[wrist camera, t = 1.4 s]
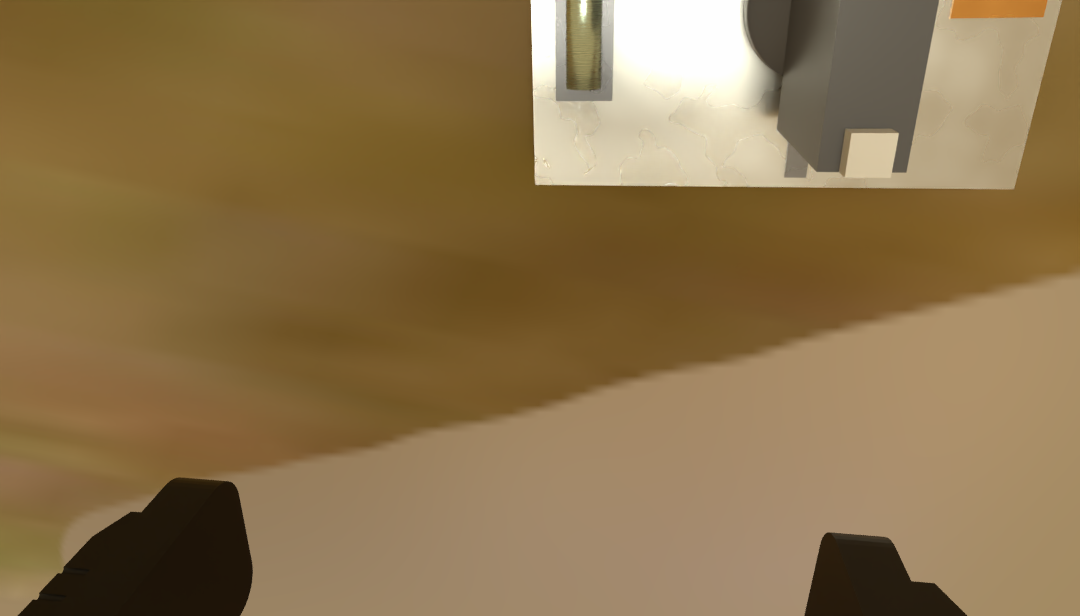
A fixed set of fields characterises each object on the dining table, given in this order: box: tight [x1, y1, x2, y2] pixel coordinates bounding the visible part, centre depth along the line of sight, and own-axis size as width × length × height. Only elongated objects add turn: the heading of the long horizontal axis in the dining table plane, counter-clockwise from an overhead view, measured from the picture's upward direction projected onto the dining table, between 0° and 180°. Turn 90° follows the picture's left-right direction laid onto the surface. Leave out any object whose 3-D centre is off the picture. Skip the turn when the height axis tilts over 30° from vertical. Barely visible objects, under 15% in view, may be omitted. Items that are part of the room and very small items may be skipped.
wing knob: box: [743, 0, 939, 178], centre depth 22 cm, size 8×5×8 cm, turn 1°
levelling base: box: [531, 0, 1062, 189], centre depth 26 cm, size 13×18×6 cm
